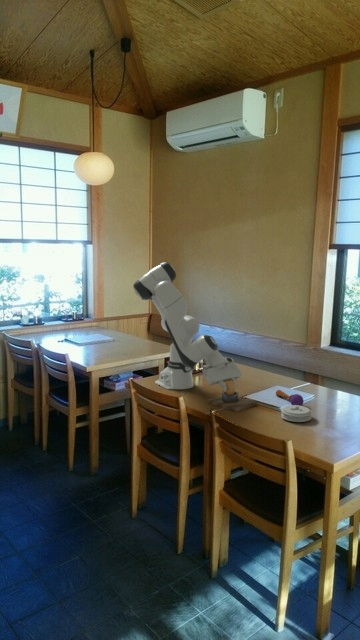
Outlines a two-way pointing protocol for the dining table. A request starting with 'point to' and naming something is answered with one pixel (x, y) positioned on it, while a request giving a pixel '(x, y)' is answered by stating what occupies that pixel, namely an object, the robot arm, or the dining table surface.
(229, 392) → the plug
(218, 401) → the board
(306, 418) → the lid
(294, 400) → the kendama
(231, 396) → the grey stone bowl
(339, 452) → the dining table surface
